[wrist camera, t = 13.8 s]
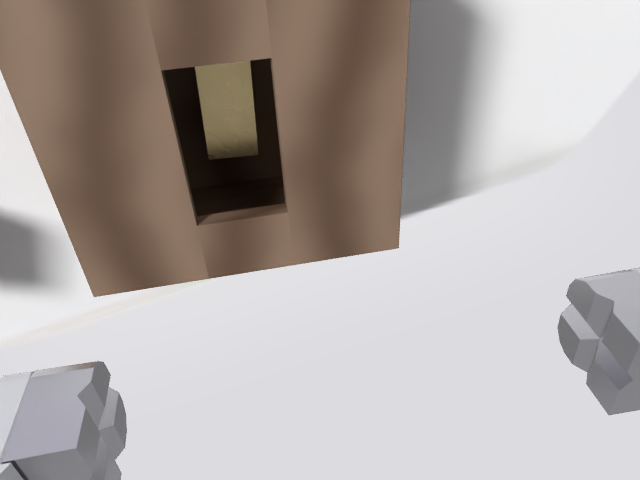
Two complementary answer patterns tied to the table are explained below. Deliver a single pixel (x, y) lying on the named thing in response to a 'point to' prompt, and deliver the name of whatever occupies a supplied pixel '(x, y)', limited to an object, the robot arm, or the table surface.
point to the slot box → (189, 136)
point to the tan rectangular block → (227, 109)
